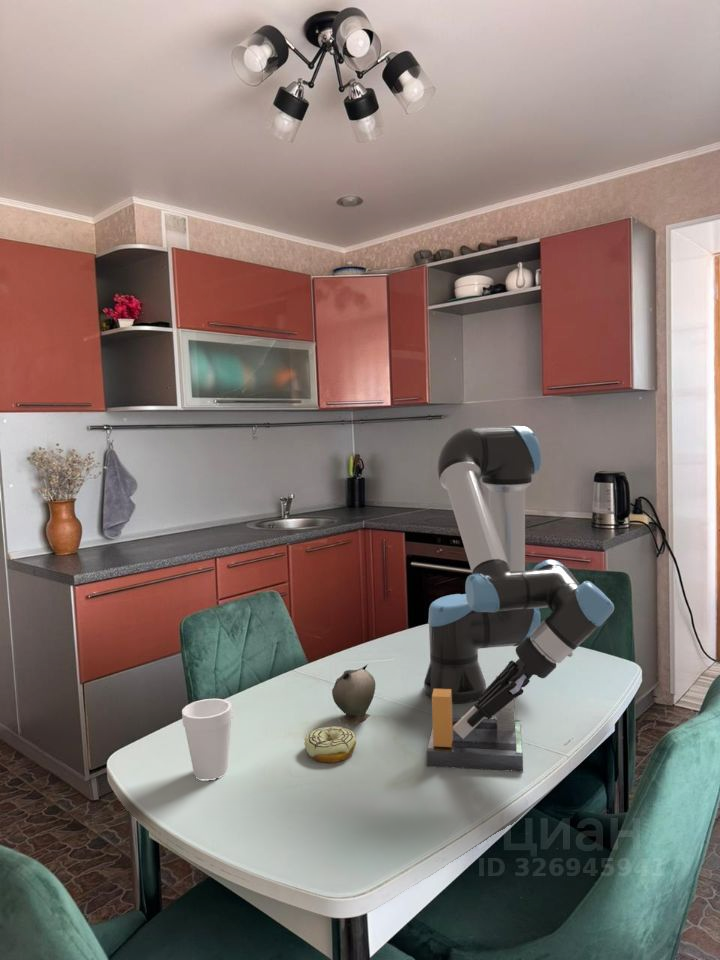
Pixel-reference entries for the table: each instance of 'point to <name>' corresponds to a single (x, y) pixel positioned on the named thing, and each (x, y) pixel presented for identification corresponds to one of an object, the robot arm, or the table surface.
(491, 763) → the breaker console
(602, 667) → the table surface
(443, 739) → the handle
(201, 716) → the foam cup
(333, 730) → the decorated donut
